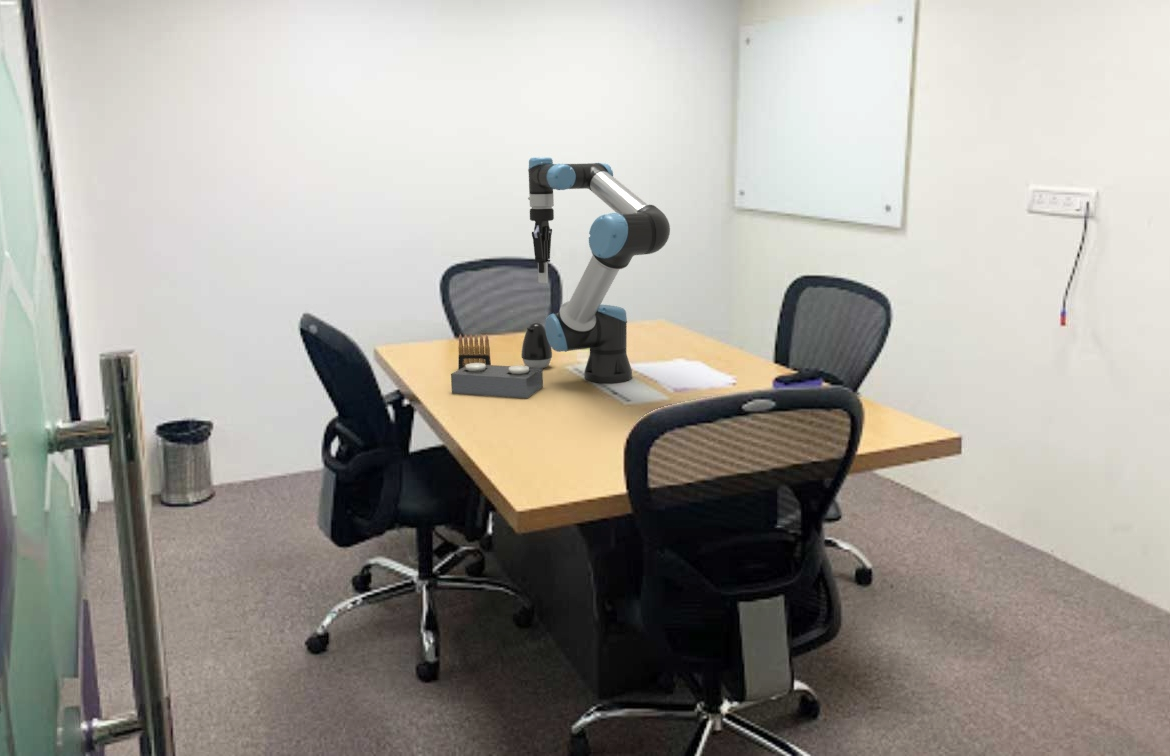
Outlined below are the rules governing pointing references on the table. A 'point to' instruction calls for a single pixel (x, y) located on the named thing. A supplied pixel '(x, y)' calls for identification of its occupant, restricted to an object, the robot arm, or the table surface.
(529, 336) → the pump dispenser
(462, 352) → the ammunition clip
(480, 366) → the knob far
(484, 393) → the housing
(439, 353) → the table surface
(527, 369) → the knob near
